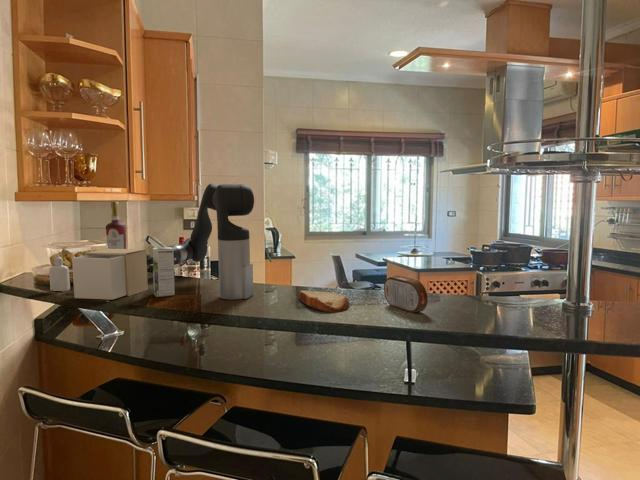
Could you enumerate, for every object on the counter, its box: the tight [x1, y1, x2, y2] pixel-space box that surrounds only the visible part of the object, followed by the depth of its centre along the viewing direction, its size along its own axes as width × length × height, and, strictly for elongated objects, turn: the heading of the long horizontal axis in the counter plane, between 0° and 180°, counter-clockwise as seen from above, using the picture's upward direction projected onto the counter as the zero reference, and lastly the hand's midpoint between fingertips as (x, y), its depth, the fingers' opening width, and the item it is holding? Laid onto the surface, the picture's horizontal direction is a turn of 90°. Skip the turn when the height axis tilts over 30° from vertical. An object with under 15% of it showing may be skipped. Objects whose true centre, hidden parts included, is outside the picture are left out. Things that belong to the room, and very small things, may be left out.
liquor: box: [105, 201, 127, 249], centre depth 185 cm, size 7×7×28 cm
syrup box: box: [152, 246, 176, 298], centre depth 147 cm, size 6×6×14 cm
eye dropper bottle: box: [48, 253, 71, 292], centre depth 155 cm, size 4×6×12 cm
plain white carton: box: [71, 254, 127, 301], centre depth 149 cm, size 13×17×12 cm
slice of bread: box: [298, 289, 350, 314], centre depth 133 cm, size 18×18×4 cm
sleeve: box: [84, 248, 149, 297], centre depth 152 cm, size 15×10×13 cm
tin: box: [383, 274, 429, 314], centre depth 125 cm, size 15×3×8 cm, turn 30°
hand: (146, 262), depth 167 cm, fingers closed
